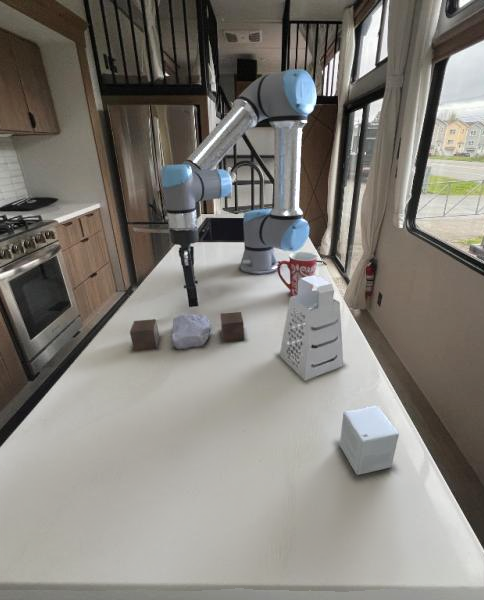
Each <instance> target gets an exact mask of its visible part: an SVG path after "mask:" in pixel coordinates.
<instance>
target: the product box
mask: <svg viewBox="0 0 484 600" xmlns="http://www.w3.org/2000/svg"><path fill="white" fill-rule="evenodd" d="M399 435H400V433H399V432H398V430H397V429H396V428H395V427H394V425H393V424H392V423H391V422H390V419H388V418H387V416H386V415H385V413H384V412H383V411H382V409H381V408H380V406H379V405H372V406H371V405H370V406H367V407H362V408H358V409H357V408H356V409H353V410H348V411H347V410H346V411H343V413H342V422H341V431H340V439H339V446H340V448H341V450H342V451H343V454H344V455H345V457H346V459H347V460H348V462H349V464H350V466H351V468H352V469H353V471H354V474H356V476H359V475H364V474H368V473H373V472H377V471H380V470H384V469H389V468H392V466H393V463H394V458H395V454H396V450H397V449H396V448H397V444H398V439H399Z"/></svg>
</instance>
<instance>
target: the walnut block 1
mask: <svg viewBox="0 0 484 600" xmlns="http://www.w3.org/2000/svg"><path fill="white" fill-rule="evenodd" d="M157 321H158V320H157V318H152V319H142V320H141V319H140V320H133V323H132V326H131V328H130V331H129V335H130V339H131V343H132V348H133V351H134V352H136V351H149V350H156V349H158V344H159V340H160V333H159V327H158V322H157Z"/></svg>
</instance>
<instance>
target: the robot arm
mask: <svg viewBox="0 0 484 600" xmlns="http://www.w3.org/2000/svg"><path fill="white" fill-rule="evenodd" d="M316 104H317V89H316V84H315V81H314V79H312V76H311V74H310V73H309V72H308V71H307V70H305V69H302V68H294V69H293V68H292V69H287V70H282V71H279V72H275V73H270V74H265V75H262V76H260V77H259V78H257V79H255V80H254V81H252V83H250V84H249V85H248V86H247V87H245V89H244V90H243V91H242V92H241V93H240V94H239V95H238V96H237V97H236V98H235V100H234V101H233V102H232V105H231V106H232V108H231V109H230V110H229V111H228V113H227V114H226V115H225V116H224V117H223V118H222V119H221V120H220V122H218V124H217V125H216V126H215V127H214V128H213V130H211V131H210V132H209V134H208V135H207V136H206V137H204V139H203V140H202V141H201V143H200V144H199V145H198V146H197V147H196V148H195V149H194V150H193V152H192V153H191V154H190V155H189V156H188V157H187V159H186V160H185V161H183V163H182V164H166V165H163V166H162V167H161V169H160V174H161V175H160V176H161V188H162V191H163V197H164V198H163V199H164V203H165V209H166V215H165V216H164V219H165V220H167V222H168V228H170V229H169V237H170V242H171V244H173V245H176V246H178V245H179V246H180V247H178V257H179V258H180V264H181V265H180V266H181V267H182V272H183V277H184V285H183V289H185V290H186V295H187V303H188V308H196V307H199V299H198V291H197V284H199V281H198V280H196V274H195V266H194V265H195V247H194V246H192V245H193V244H195V243H197V242H199V240H200V236H199V235H200V234H199V228H198V227H197V226H198V217H197V216H198V215H197V208H196V203H199V202H203V201H209V200H217V199H218V200H221V199H222V198H225V197H228V196H229V195H230V194H231V191H232V190H233V183H232V182H233V181H232V177H231V175H230V173H229V172H228V171H227V170H225V169H224V168H223V169H221V168H220V169H218V168H216V166H217V165H218V164H219V163H220V162H221V161H222V160H223V159H224V158H225V156H226V155H227V154H228V153H229V152H230V150H231V149H232V148H233V147H234V146H235V145H236V144H237V142H238V141H239V140H240V139H241V138H242V137H243V136H244V134H245V133H246V132H247V131H248V130H249V129H253V128H255V127H256V126H257V124H258V123H260V122H261V121H263V120H266V119H269V124H270V126H271V127H272V128H273V130H274V135H273V136H274V137H273V138H274V141H273V142H274V143H273V146H274V148H273V150H274V151H273V155H274V156H273V159H274V161H273V179H274V180H273V207H272V208H261V209H252V210H249V211H248V210H247V211H246V212H244V214H243V222H242V225H243V245H244V250H243V254H242V258H241V261H240V270H241V271H243V272H245V273H247V274H253V275H265V274H271V273H275V271H277V267H278V264H279V262H281V261H279V260H278V257H277V254H276V252H275V249H277V250H281V251H283V252H291V253H294V252H298V251H299V250H300V249H302V248H303V247H304V245H305V243H306V242H307V241H308V238H309V236H310V225H309V223H308V221H307V220H305V219H304V211H303V210H302V209H301V208H300V191H301V189H300V186H301V161H302V138H303V137H302V135H303V128H304V127H305V126H306V125H307V123H308V116H309V115H310V114H311V113H312V112H313V111H314V109H315V107H316ZM191 244H192V245H191ZM322 262H323V263H322ZM316 263H321V264H322V265H324V266H328V264H327V263H326V262H325V261H323V260H317V261H316ZM285 265H286V266H287V264H285Z"/></svg>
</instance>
